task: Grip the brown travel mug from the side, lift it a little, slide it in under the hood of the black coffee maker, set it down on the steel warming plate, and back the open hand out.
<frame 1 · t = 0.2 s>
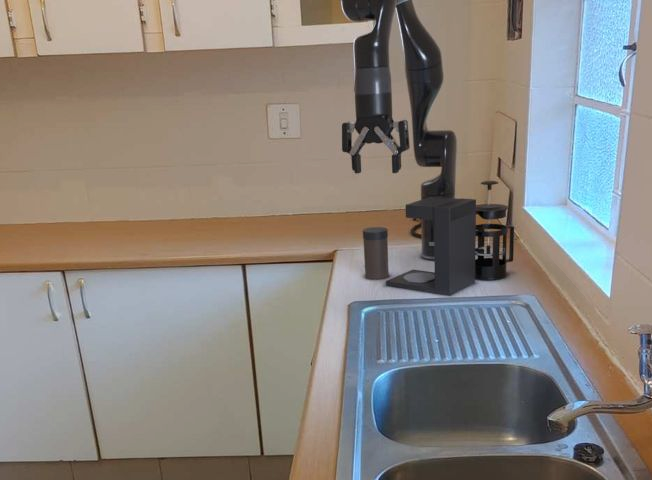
hand: (376, 172, 159), 29 cm above the worktop, tool pointing down, fingers open, 8 cm apart
coffee maker: (419, 282, 185), on the worktop
brown travel mug: (376, 276, 192), on the worktop
french press: (489, 275, 187), on the worktop
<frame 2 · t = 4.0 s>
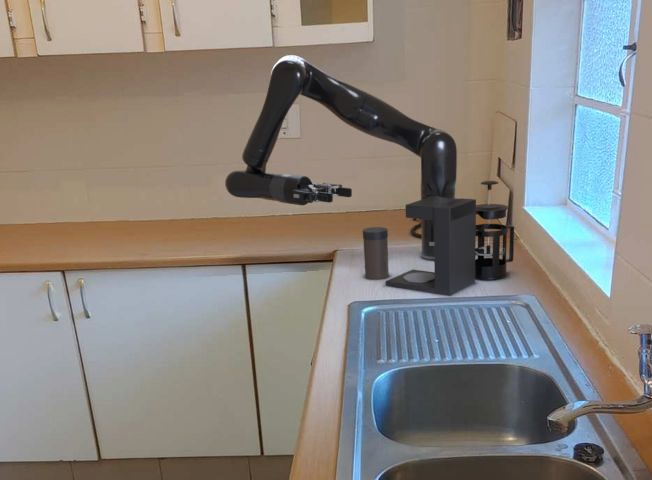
hand: (341, 195, 190), 20 cm above the worktop, tool horizontal, fingers open, 8 cm apart
nothing on the worktop moved.
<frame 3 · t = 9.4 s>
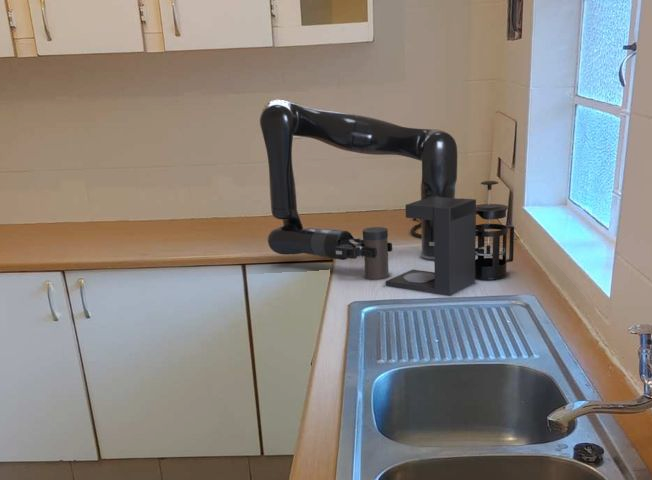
hand: (383, 250, 188), 7 cm above the worktop, tool horizontal, fingers closed on brown travel mug, 6 cm apart
brown travel mug: (376, 276, 192), on the worktop, touching gripper
everything else where it was.
when the fingers open (9 cm above the worktop, at t = 14.5 s): brown travel mug stays where it is, resting on coffee maker.
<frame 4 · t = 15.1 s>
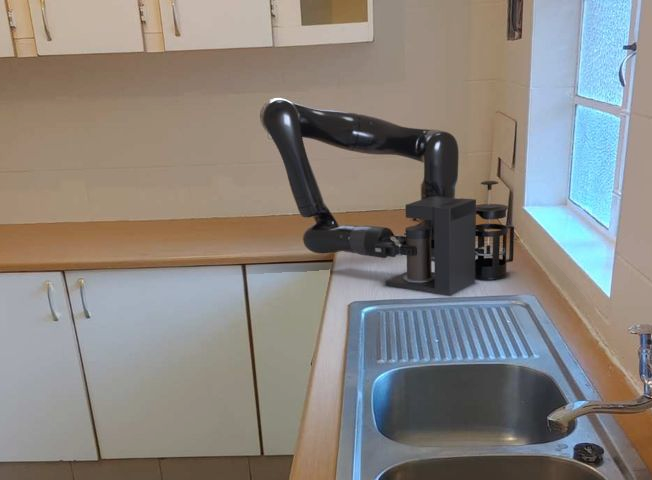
hand: (426, 247, 180), 9 cm above the worktop, tool horizontal, fingers open, 8 cm apart
brown travel mug: (419, 276, 184), point 1 cm above the worktop, touching coffee maker
everything else where it was.
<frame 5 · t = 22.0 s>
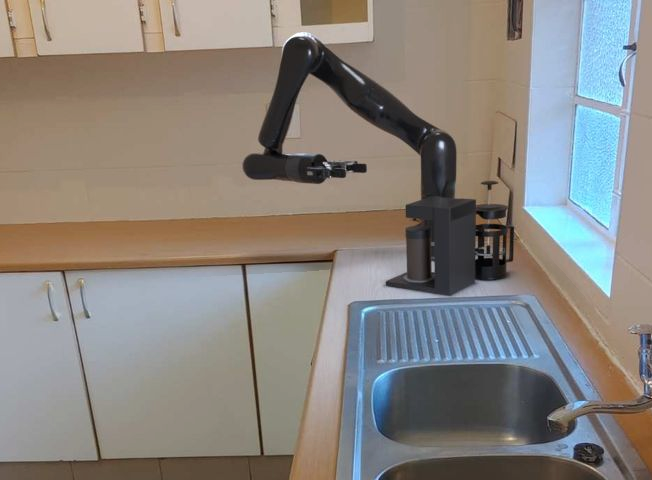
hand: (355, 170, 187), 26 cm above the worktop, tool horizontal, fingers open, 8 cm apart
nothing on the worktop moved.
at the end: brown travel mug 0.1 cm off-centre on the coffee maker, point 1.5 cm above the coffee maker's base; brown travel mug tilted 0°; the gripper is holding nothing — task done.
